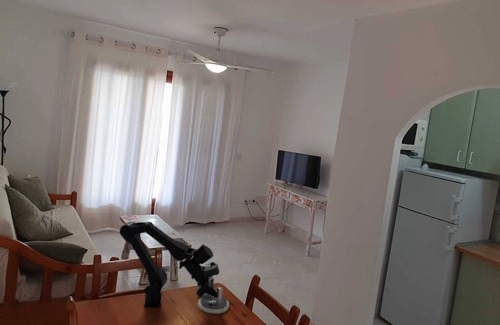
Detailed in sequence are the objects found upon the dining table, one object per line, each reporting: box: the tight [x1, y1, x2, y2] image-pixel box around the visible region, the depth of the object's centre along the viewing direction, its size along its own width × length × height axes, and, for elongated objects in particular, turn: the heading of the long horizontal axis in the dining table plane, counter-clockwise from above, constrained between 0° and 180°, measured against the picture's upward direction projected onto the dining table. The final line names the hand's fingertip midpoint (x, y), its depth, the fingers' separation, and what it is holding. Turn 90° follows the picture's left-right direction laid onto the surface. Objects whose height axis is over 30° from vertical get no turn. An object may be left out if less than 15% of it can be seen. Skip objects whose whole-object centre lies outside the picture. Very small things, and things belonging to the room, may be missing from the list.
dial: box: [200, 286, 228, 309], centre depth 170 cm, size 12×12×9 cm
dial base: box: [197, 297, 230, 315], centre depth 171 cm, size 14×14×2 cm
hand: (217, 297), depth 165 cm, fingers closed
